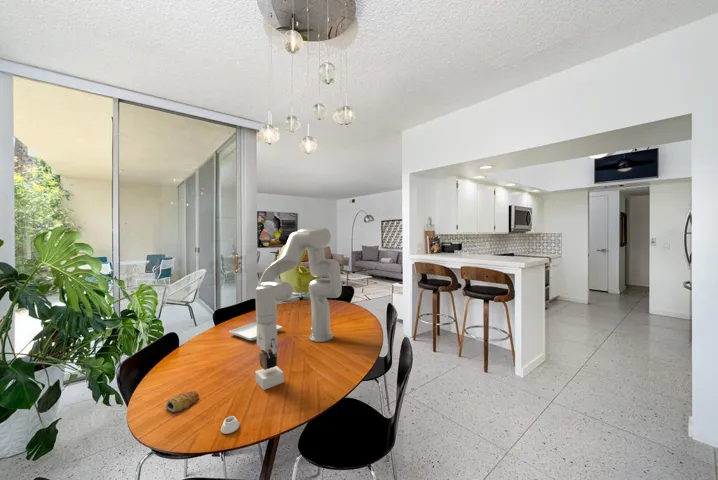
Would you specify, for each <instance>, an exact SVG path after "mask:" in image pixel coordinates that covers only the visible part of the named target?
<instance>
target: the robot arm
mask: <svg viewBox="0 0 718 480" xmlns="http://www.w3.org/2000/svg"><path fill="white" fill-rule="evenodd" d="M331 237H332V235H331V232H330V230H329V229H328V228H325V227H308V228H307V227H305V228H300V229H298V230H296V231H293V232H292V233H290V234H289V236H288V239H287V241H286V243H285V246H284V248H283V251H282V252H281V255H280V257H279V258H278V259H277V260H275V261H274V262H272V263H271V265H269V266H268V267H267V268H266V269H264V272H263V273H262V275H261V277H260V280H259V282H258V285H257V287H256V288H255V291H254V292H255V293H254V295H255V317H256V319H255V320H256V322H257V340H256V345H257V346H258V347H259V348H260V352H263V351H265V352H266V351H267V355H268V358H267V368H268V369H270V368H273V367H275V366H276V353H277V354H278V350H277V348H278V346H279V345H278V342H279V341H278V331H277V327H276V325H277V322H278V308H277V303H278V302H284V301H287V300H289V299H290V298H291V297H292V295H293V292H294V289H293V285H292V284H291V283H289V282H288V281H275V280H276V279H277V278H278V277H279V276H280V275H281V274H283V273H286V272H289V271H291V270H293V269H295V268H297V267H298V266H299V265H300V263H301V259H302V257H303V254H304V252H305V250H306V252H307V257H308V268H309V272H310V275H311V276H312V277H313V278H315V279H313V280H311V281H310V282H309V283H308V293H309V297H310V308H311V309H310V311H311V328H310V331H311V333H310V335H309V339H308V340H310V341H311V342H315V343H324V342H328V341H331V340H332V339H333V338H334V334H333V333H332V332H331V319H330V318H331V317H330V316H331V315H330V303H329V300H328V298H329V299H337V298H339V297H340V296H341V294H342V289H343V288H342V276H341V267H340V266H341V265H340V263H339V262H338V260H336V259H332V258H331V259H329V258H326V255H325V254H326V253H325V249H324V247H326V246H327V245H328V244H329V243H330V241H331ZM270 351H272V352H271V353H270Z"/></svg>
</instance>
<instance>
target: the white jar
mask: <svg viewBox="0 0 718 480" xmlns="http://www.w3.org/2000/svg"><path fill="white" fill-rule="evenodd" d="M239 428H240V422H239V420H238V419H237V418H236V416H234V415H230V416H228V417H226V418H224V420H223V422H222V425H221V427H220V432H221V433H222V434H224V435H225V434H232V433H234V432H235V431H237V430H238V429H239Z"/></svg>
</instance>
